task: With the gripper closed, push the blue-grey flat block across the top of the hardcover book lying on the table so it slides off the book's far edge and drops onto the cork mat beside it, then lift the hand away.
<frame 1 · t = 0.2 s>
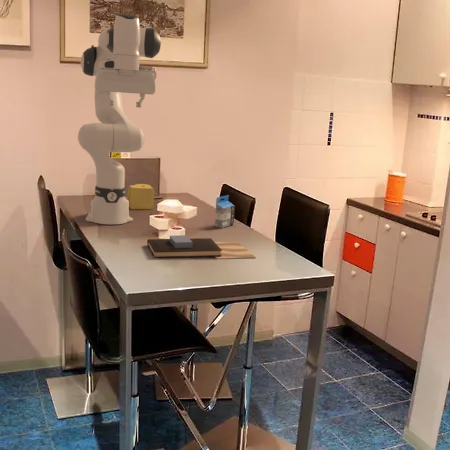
hand: (124, 106, 206), 47 cm above the table, tool pointing down, fingers open, 8 cm apart
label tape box: (224, 226, 251), on the table
cheese: (140, 207, 275), on the table
hardcover book: (183, 251, 210), on the table, touching blue-grey flat block, mat
mat: (227, 250, 215), on the table
blue-grey flat block: (180, 244, 209), point 2 cm above the table, touching hardcover book
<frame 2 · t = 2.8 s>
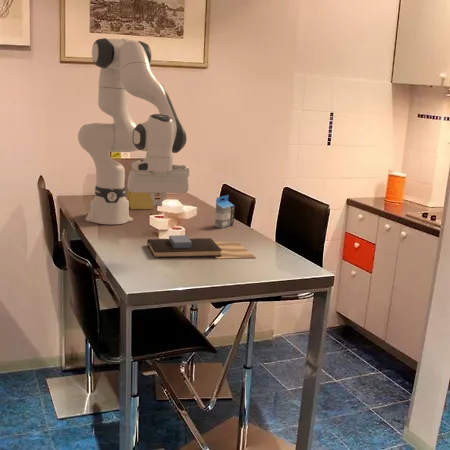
hand: (157, 205, 203), 16 cm above the table, tool pointing down, fingers closed
nothing on the table moved.
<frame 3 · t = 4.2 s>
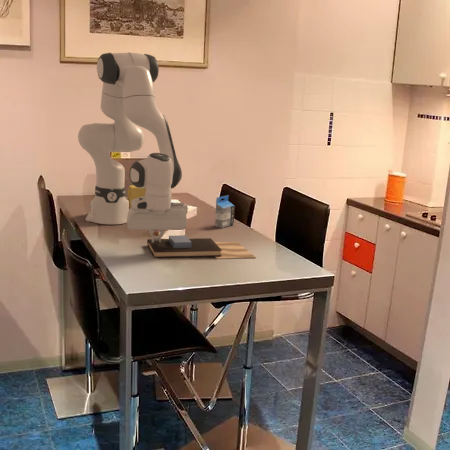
hand: (156, 242, 206), 3 cm above the table, tool pointing down, fingers closed
nothing on the table moved.
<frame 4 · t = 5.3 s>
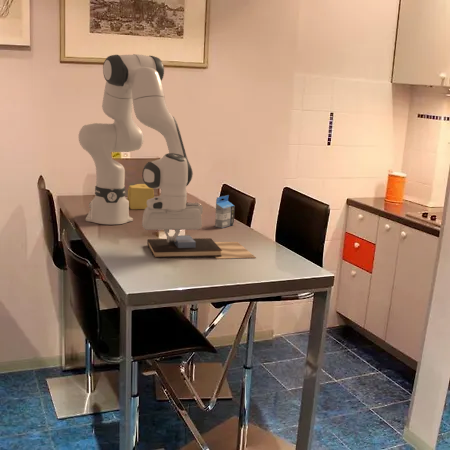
hand: (171, 241, 207), 3 cm above the table, tool pointing down, fingers closed
blue-grey flat block: (183, 244, 209), point 2 cm above the table, touching gripper, hardcover book
everything else where it was.
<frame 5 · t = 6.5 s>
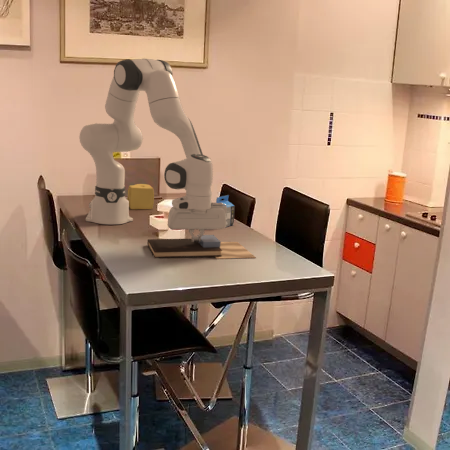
hand: (196, 241, 210), 3 cm above the table, tool pointing down, fingers closed
blue-grey flat block: (208, 243, 212), point 3 cm above the table, touching hardcover book
everything else where it was.
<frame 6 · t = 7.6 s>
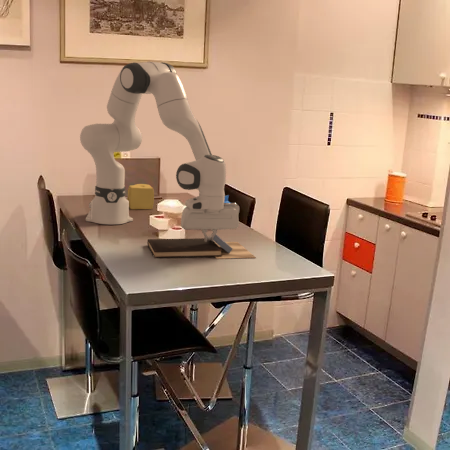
hand: (208, 241, 212), 3 cm above the table, tool pointing down, fingers closed
hardcover book: (183, 251, 210), on the table, touching mat
blue-grey flat block: (219, 244, 213), point 2 cm above the table, tilted 38°, touching gripper, mat
everything else where it was.
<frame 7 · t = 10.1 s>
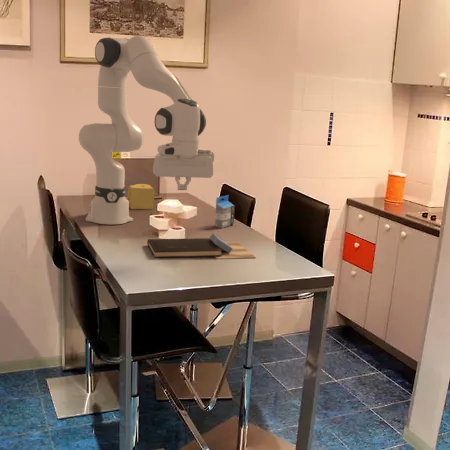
hand: (182, 189, 205), 21 cm above the table, tool pointing down, fingers closed
hardcover book: (183, 251, 210), on the table, touching blue-grey flat block, mat
blue-grey flat block: (219, 245, 213), point 2 cm above the table, tilted 32°, touching mat, hardcover book
everything else where it was.
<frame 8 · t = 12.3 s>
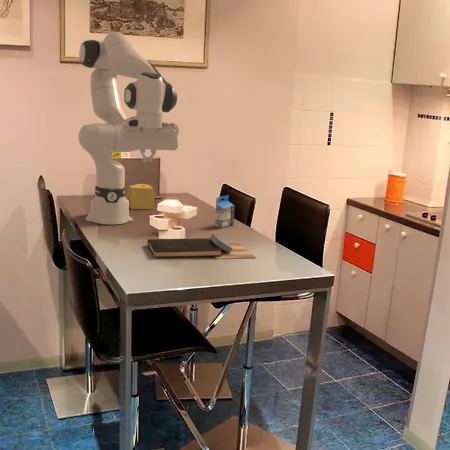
hand: (147, 162, 209), 29 cm above the table, tool pointing down, fingers closed
nothing on the table moved.
at the end: blue-grey flat block point 1.9 cm above the table; blue-grey flat block inside the target area on the mat (3.2 cm from its centre), point 1.9 cm above the mat's base; blue-grey flat block touching mat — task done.
